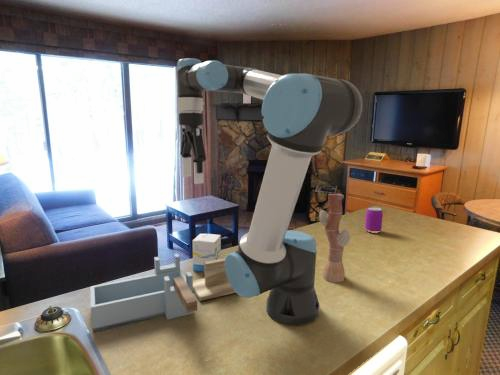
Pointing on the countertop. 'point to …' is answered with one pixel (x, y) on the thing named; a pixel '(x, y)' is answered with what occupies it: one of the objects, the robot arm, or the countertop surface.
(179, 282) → the cross bar
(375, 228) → the beverage can
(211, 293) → the lid
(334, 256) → the vase
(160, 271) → the grey box with brackets
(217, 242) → the ink box
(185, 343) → the countertop surface
